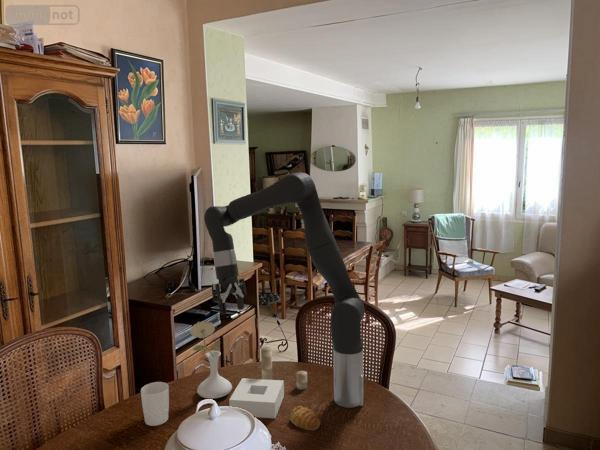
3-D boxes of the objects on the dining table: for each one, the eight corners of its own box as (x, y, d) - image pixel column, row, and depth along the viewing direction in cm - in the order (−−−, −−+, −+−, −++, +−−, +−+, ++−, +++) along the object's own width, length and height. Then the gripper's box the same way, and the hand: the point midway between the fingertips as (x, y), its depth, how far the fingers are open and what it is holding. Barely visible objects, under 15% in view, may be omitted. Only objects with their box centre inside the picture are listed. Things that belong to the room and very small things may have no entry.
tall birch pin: (273, 382, 157) (272, 347, 155) (271, 387, 153) (270, 351, 152) (263, 382, 157) (262, 346, 156) (260, 387, 154) (259, 350, 152)
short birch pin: (308, 385, 155) (307, 371, 154) (306, 390, 151) (306, 375, 151) (297, 384, 156) (297, 370, 155) (295, 389, 152) (295, 375, 151)
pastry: (326, 425, 131) (325, 413, 130) (310, 435, 126) (309, 423, 126) (302, 413, 138) (302, 401, 137) (286, 422, 133) (286, 410, 132)
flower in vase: (235, 385, 156) (232, 314, 152) (228, 402, 144) (225, 326, 141) (197, 385, 156) (193, 315, 153) (188, 402, 145) (184, 327, 142)
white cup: (145, 430, 130) (142, 397, 129) (140, 417, 137) (138, 385, 136) (173, 422, 133) (171, 390, 132) (167, 410, 140) (165, 379, 139)
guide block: (284, 395, 148) (283, 380, 148) (275, 418, 135) (274, 402, 134) (242, 392, 151) (242, 378, 150) (229, 415, 137) (229, 399, 136)
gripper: (219, 265, 146) (226, 315, 145) (247, 260, 158) (254, 307, 157) (202, 267, 151) (209, 316, 150) (231, 263, 162) (238, 308, 161)
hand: (232, 311), depth 153 cm, fingers open, 8 cm apart
